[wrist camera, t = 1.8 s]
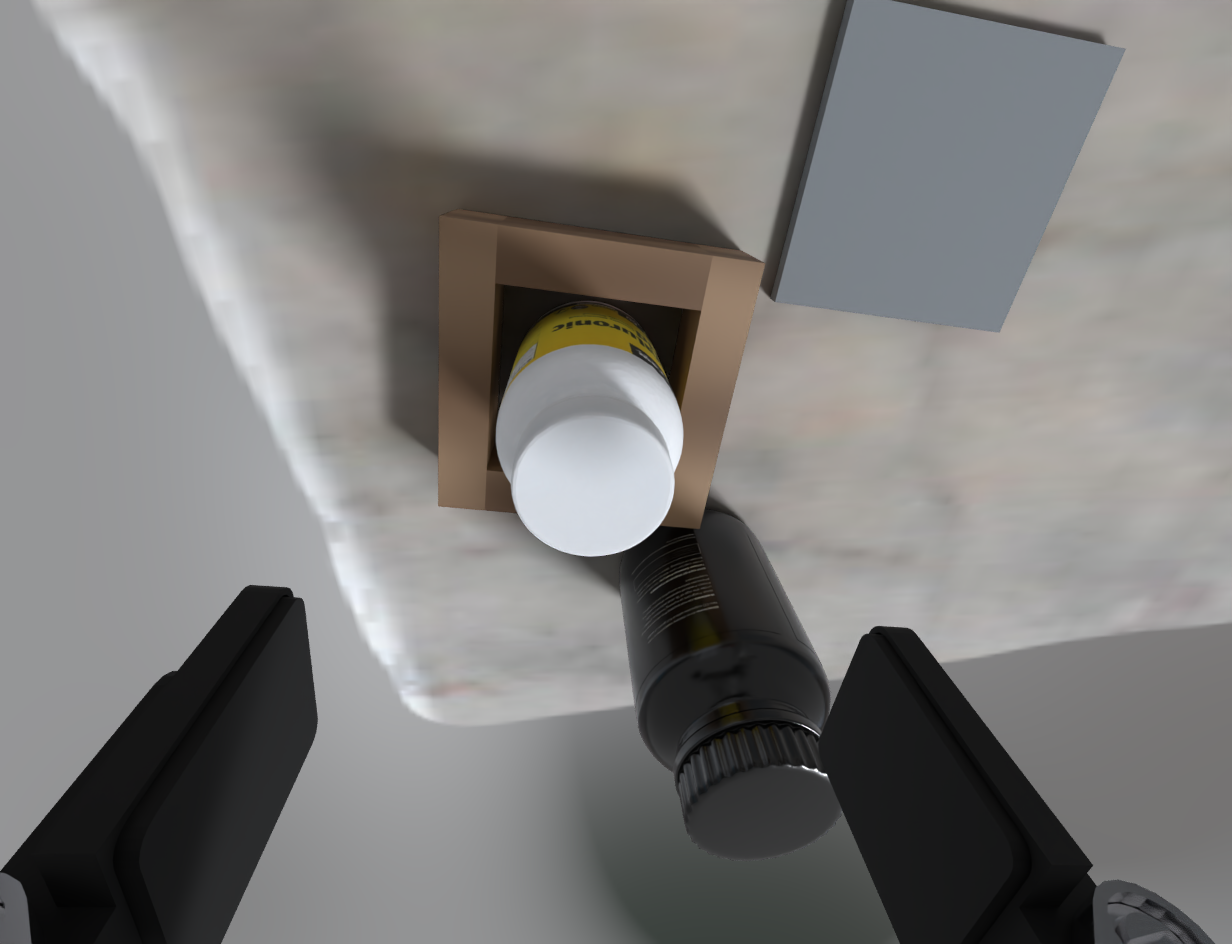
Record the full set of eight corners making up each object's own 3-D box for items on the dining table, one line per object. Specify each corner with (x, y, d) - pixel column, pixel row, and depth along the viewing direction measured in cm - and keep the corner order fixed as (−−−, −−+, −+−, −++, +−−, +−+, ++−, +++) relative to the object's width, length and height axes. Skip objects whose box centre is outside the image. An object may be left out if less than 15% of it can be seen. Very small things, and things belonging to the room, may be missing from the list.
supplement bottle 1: (682, 339, 22) (749, 450, 14) (613, 452, 24) (635, 610, 16) (554, 268, 21) (540, 344, 12) (493, 395, 23) (444, 535, 14)
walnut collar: (457, 208, 20) (438, 216, 17) (741, 250, 21) (765, 263, 18) (453, 468, 24) (438, 506, 22) (686, 490, 26) (699, 529, 23)
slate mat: (847, -2, 18) (856, -8, 17) (1110, 52, 19) (1125, 48, 18) (770, 298, 22) (775, 301, 21) (989, 328, 23) (999, 332, 22)
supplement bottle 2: (618, 624, 29) (644, 890, 18) (617, 506, 26) (646, 746, 15) (755, 616, 29) (857, 874, 19) (770, 499, 26) (904, 729, 15)
